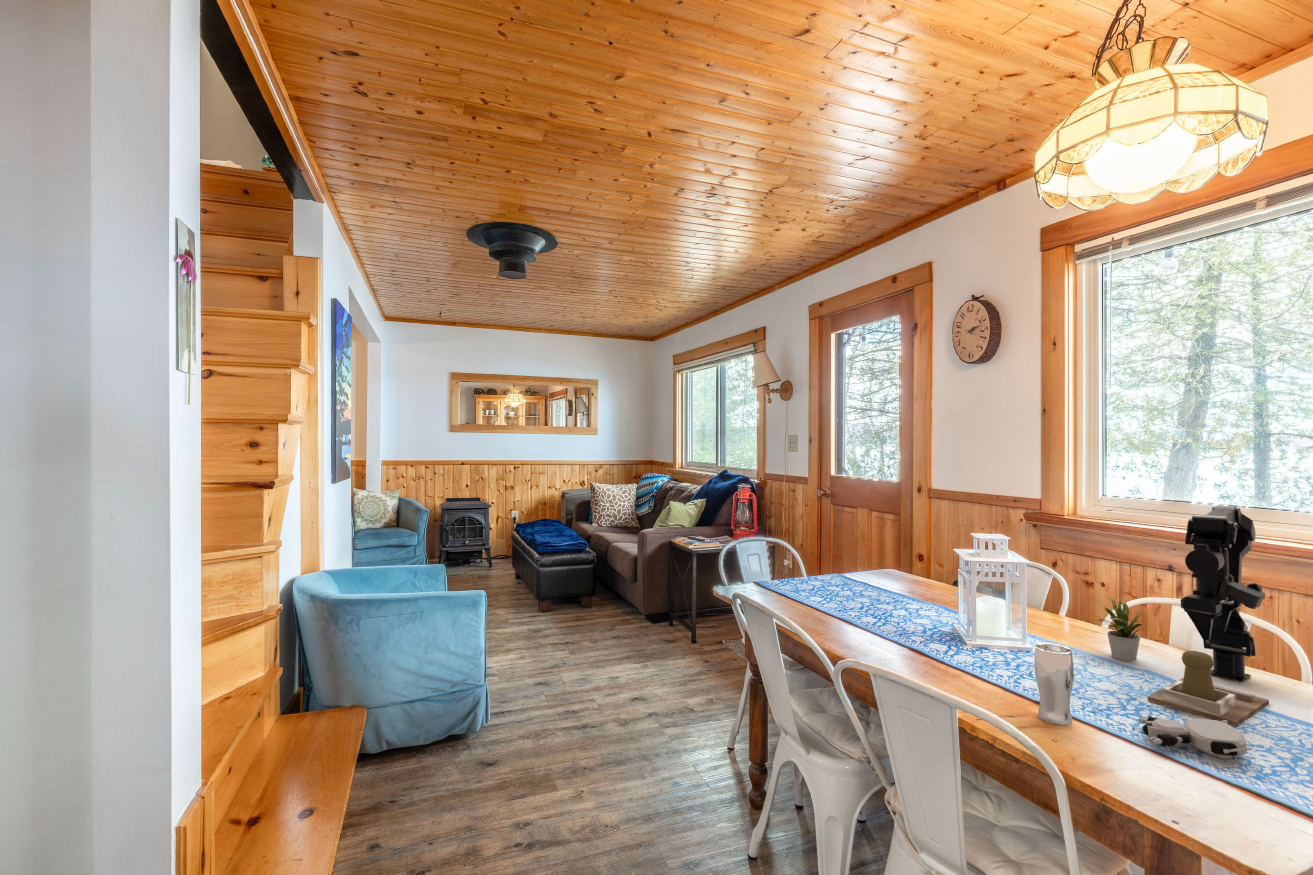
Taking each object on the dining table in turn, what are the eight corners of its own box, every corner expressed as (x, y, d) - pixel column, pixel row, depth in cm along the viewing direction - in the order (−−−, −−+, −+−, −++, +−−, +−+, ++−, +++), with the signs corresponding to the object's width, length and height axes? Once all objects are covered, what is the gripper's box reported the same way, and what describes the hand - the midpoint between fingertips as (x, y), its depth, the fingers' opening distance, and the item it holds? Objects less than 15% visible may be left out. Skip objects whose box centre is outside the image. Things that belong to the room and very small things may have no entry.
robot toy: (1152, 758, 113) (1259, 771, 106) (1149, 733, 113) (1256, 745, 106) (1137, 730, 124) (1233, 740, 117) (1134, 708, 124) (1230, 717, 117)
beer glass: (1063, 729, 123) (1061, 655, 123) (1028, 716, 129) (1027, 646, 129) (1082, 721, 126) (1080, 650, 126) (1047, 709, 132) (1046, 640, 132)
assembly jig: (1183, 681, 146) (1183, 667, 146) (1269, 704, 133) (1268, 688, 133) (1147, 700, 136) (1147, 685, 136) (1236, 726, 123) (1236, 709, 123)
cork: (1176, 701, 133) (1175, 651, 133) (1184, 694, 136) (1183, 646, 136) (1213, 711, 128) (1211, 659, 128) (1220, 703, 131) (1219, 653, 132)
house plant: (1076, 646, 172) (1075, 589, 173) (1129, 648, 170) (1128, 590, 171) (1106, 664, 158) (1105, 602, 158) (1165, 666, 156) (1163, 603, 157)
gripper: (1244, 580, 128) (1246, 654, 128) (1273, 570, 138) (1275, 638, 138) (1178, 571, 138) (1180, 640, 137) (1209, 562, 147) (1211, 626, 147)
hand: (1213, 636), depth 140 cm, fingers open, 9 cm apart
